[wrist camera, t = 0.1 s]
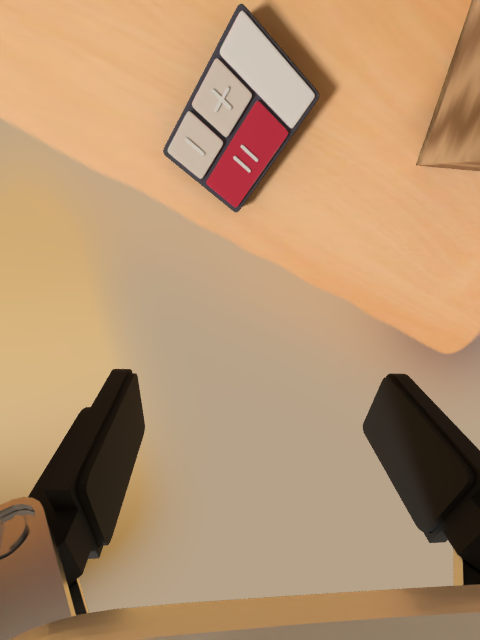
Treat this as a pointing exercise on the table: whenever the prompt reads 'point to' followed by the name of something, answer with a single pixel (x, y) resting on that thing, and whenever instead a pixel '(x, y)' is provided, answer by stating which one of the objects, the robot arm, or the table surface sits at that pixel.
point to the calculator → (240, 112)
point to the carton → (458, 106)
